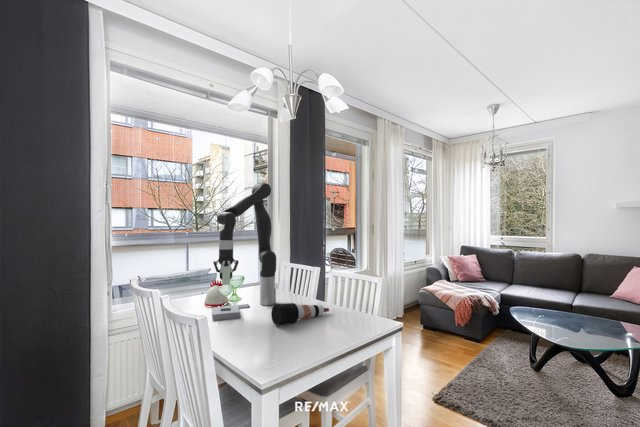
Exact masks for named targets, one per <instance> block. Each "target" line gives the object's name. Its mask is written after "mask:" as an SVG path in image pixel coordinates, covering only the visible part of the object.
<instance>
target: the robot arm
mask: <svg viewBox="0 0 640 427" xmlns="http://www.w3.org/2000/svg"><path fill="white" fill-rule="evenodd" d="M271 192H272V188H271V186H270V184H269V183H266V182H261V183H255V184H253V185H252V186H251V194H249V195H248V196H245V197H243V198H242V199H240V200H238V201H237V202H236V203H234V204H233V205H232V206H230V207H228V208H225V209H224V210H222V211H221V212H220V213H219V214H217V217H216V221H217V223H218V224H220V225H223V228H222V229H220V231H219V242H218V259H217V260H214V261H213V262H212V263H213V266H214V269H215V271H216V273H219V279H220V280H221V281H222V266H223V267H224V266H230V280H232V278H233V273H234V272H236V270H237V268H238V265H239V260H238V259H237V260H236V259H235V258H234V230H235V226H236V222H237V221H236V220H237V217H240V216H242V215H243V214H244V213H245V212H247V211H248V210H249V209H250V208H251V207H253V206H254V214H255V224H256V232H257V240H258V260H259V262H260V263H261V270H260V272H259V304H260V305H261V306H271V305H273V306H274V305H275V304H277V303H276V302H277V296H276V294H277V290H276V271H277V255H276V253H275V252H274V251H272V247H271V235H272V219H271V216H270V215H269V212H268V211H267V209H266V208H265V205H264V199H266V198H267V197H269V196H270V195H271ZM233 263H234V264H233ZM218 264H220V268H219V267H218ZM232 264H233V265H234V266H233V268H232Z"/></svg>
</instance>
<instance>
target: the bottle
mask: <svg viewBox="0 0 640 427" xmlns="http://www.w3.org/2000/svg"><path fill="white" fill-rule="evenodd" d="M329 311H330V308H329V307H324V306H323V305H322V304H313V305H312V304H309V305H308V304H302V305H300V304H299V305H297V303H295V302H294V303H293V302H291V303H290V302H288V303H278V304H277V303H276V304H273V306H272V308H271V321H272V323H273V324H274V325H275V326H284V325H289V324H295V323H297V322H298V320H301V321H302V320H306V319H312V318H317V317H322V316H324V314H325V313H329Z"/></svg>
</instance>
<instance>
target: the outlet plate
mask: <svg viewBox="0 0 640 427" xmlns="http://www.w3.org/2000/svg"><path fill="white" fill-rule="evenodd" d="M238 305H239V304H236V305H235V304H233V305H225V306H221V307H211V316H212V317H211V318H212V321H219V320H222V321H223V320H230V319H238V318H241V309H239V308H238Z"/></svg>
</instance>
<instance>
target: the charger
mask: <svg viewBox="0 0 640 427" xmlns="http://www.w3.org/2000/svg"><path fill="white" fill-rule="evenodd" d="M221 284H222V286H229V285H231V279H230V266H224V267H223V266H222V280H221Z"/></svg>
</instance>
